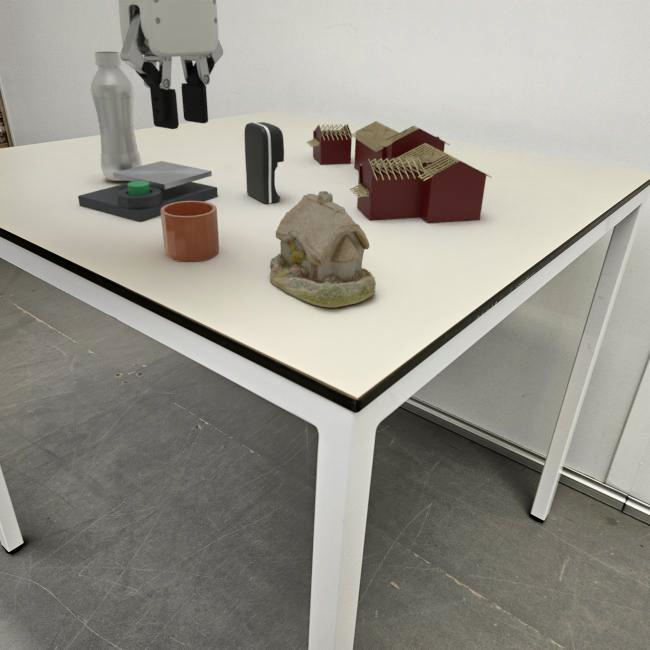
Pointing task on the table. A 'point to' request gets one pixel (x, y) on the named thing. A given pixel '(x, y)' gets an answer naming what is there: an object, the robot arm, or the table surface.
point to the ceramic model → (321, 254)
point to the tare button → (138, 188)
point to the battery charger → (263, 160)
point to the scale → (144, 200)
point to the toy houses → (403, 173)
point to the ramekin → (190, 230)
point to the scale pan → (163, 174)
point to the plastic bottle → (114, 115)
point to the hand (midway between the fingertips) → (181, 122)
